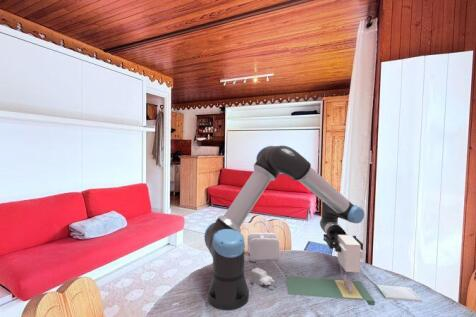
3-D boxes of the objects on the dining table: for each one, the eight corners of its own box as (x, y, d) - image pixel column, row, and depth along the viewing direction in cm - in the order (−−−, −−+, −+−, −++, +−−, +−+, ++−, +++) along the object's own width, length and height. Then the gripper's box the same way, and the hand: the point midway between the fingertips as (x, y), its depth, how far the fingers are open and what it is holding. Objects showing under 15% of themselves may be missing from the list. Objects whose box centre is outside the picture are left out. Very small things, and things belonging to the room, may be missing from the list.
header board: (288, 298, 87) (288, 283, 87) (285, 279, 100) (285, 266, 100) (374, 305, 83) (374, 289, 83) (360, 284, 96) (360, 271, 96)
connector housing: (345, 271, 86) (346, 244, 85) (337, 259, 96) (337, 234, 95) (360, 272, 85) (360, 245, 85) (350, 259, 95) (350, 235, 95)
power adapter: (279, 290, 92) (279, 275, 92) (271, 295, 88) (271, 280, 88) (257, 279, 100) (257, 265, 99) (249, 284, 96) (249, 269, 96)
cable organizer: (248, 262, 114) (248, 239, 114) (247, 253, 125) (247, 231, 125) (279, 263, 115) (279, 239, 114) (275, 253, 125) (275, 232, 125)
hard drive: (385, 296, 87) (422, 299, 85) (375, 284, 95) (409, 286, 93) (385, 300, 87) (422, 303, 85) (375, 288, 95) (409, 290, 93)
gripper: (355, 241, 107) (380, 266, 84) (314, 239, 109) (327, 263, 86) (355, 225, 107) (380, 245, 84) (314, 223, 109) (327, 243, 86)
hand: (353, 254), depth 85 cm, fingers closed on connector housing, 5 cm apart
